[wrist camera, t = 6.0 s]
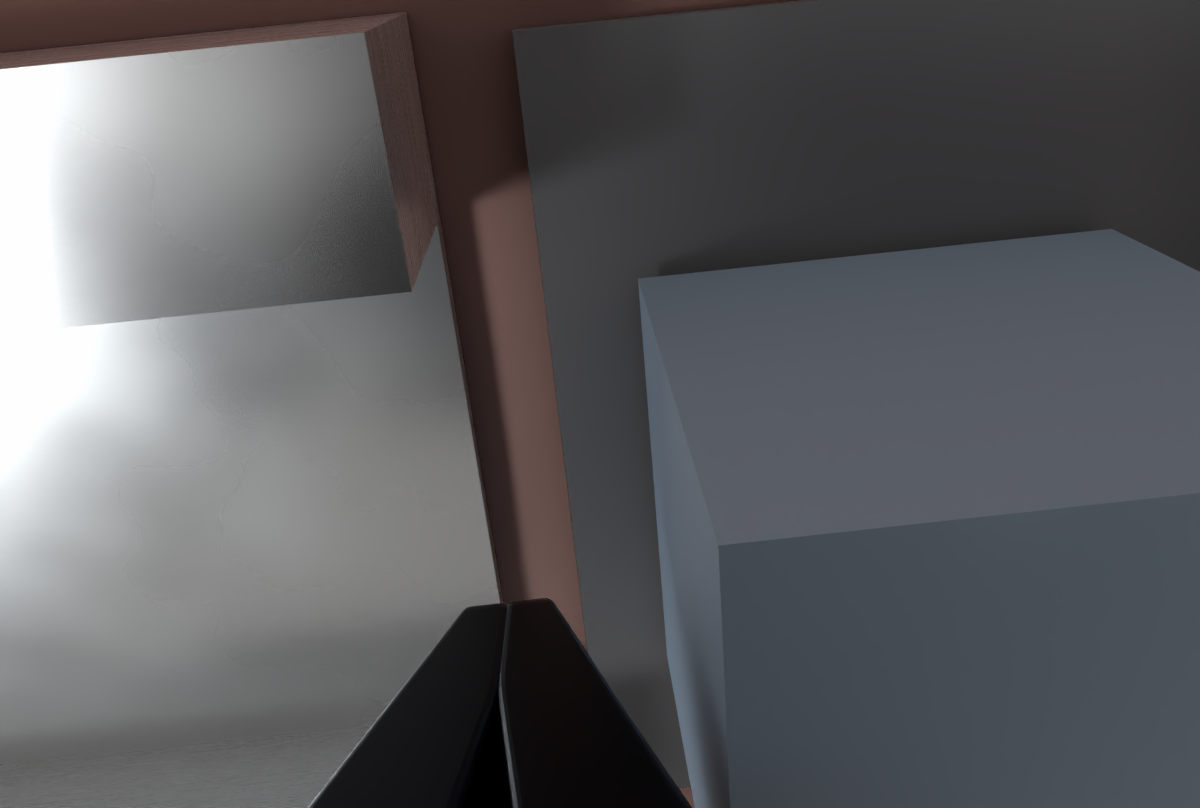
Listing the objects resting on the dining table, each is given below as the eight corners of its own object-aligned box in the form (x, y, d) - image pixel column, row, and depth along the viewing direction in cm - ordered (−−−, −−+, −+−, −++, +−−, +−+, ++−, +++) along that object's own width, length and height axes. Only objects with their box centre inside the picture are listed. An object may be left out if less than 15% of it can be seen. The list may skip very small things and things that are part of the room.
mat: (603, 779, 14) (610, 870, 12) (512, 29, 9) (507, 42, 8) (1229, 709, 14) (1303, 791, 13) (1417, -63, 10) (1563, -65, 8)
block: (667, 656, 12) (741, 1072, 8) (638, 278, 10) (718, 546, 6) (1058, 613, 12) (1360, 998, 8) (1111, 228, 10) (1571, 452, 6)
